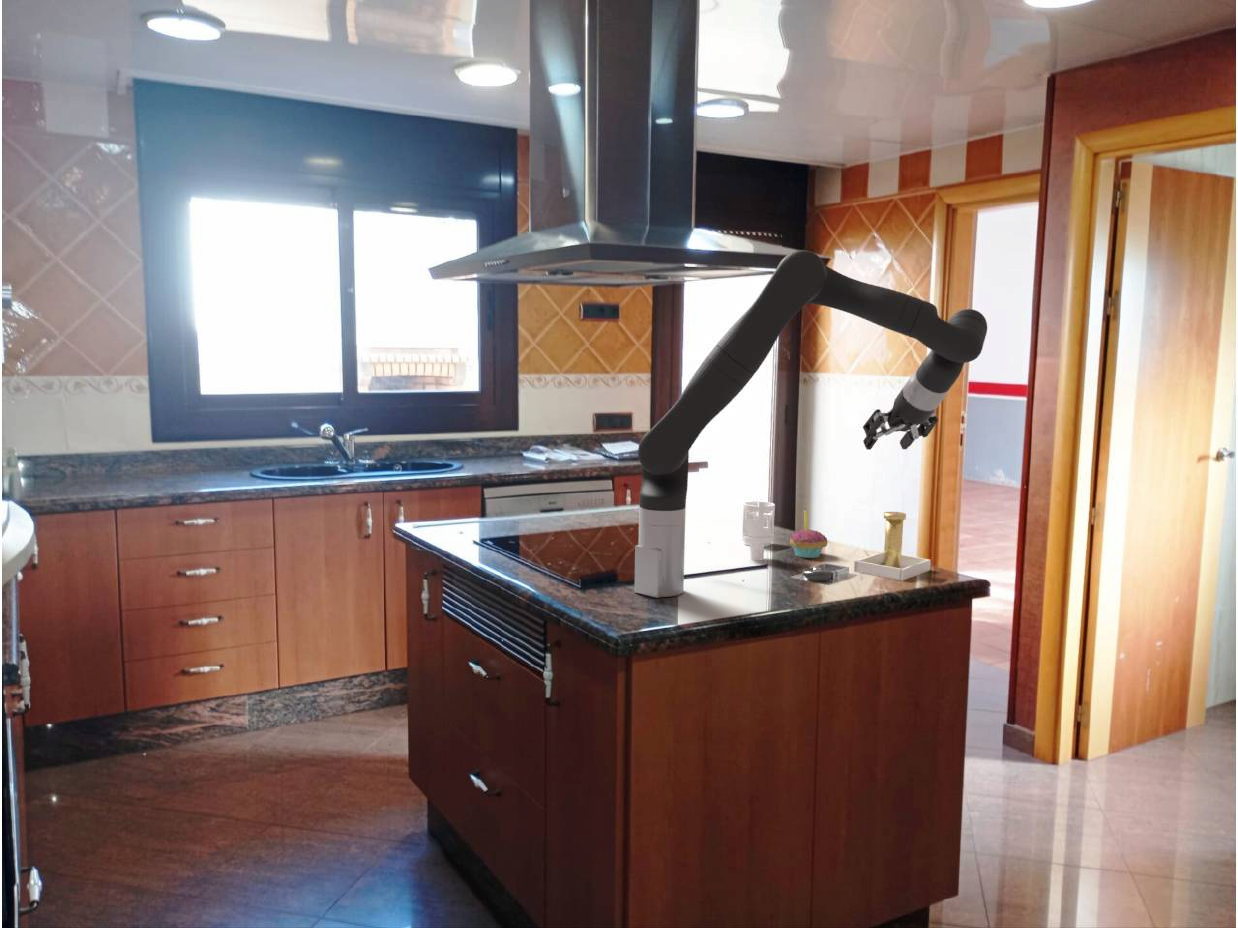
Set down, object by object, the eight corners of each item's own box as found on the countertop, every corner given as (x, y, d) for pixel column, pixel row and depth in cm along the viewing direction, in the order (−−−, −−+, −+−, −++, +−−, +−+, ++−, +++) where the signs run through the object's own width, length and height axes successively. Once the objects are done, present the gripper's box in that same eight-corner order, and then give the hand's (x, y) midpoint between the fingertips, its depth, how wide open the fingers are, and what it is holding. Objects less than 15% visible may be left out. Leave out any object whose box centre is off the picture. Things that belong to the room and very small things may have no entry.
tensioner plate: (827, 590, 200) (828, 574, 200) (789, 582, 206) (790, 566, 206) (856, 580, 209) (857, 564, 208) (819, 572, 215) (820, 557, 214)
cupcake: (782, 557, 230) (784, 506, 228) (813, 554, 233) (815, 504, 231) (801, 565, 222) (803, 513, 220) (833, 563, 225) (836, 511, 223)
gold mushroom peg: (896, 576, 210) (899, 516, 208) (876, 572, 213) (879, 513, 211) (906, 572, 213) (909, 513, 211) (887, 569, 216) (890, 510, 214)
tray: (902, 586, 205) (902, 569, 204) (853, 576, 212) (854, 560, 212) (929, 575, 214) (930, 559, 214) (882, 566, 222) (883, 551, 221)
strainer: (743, 567, 219) (745, 501, 217) (738, 560, 226) (740, 495, 224) (775, 567, 219) (777, 501, 217) (769, 560, 226) (771, 496, 224)
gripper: (945, 381, 196) (907, 432, 208) (883, 380, 191) (848, 432, 204) (960, 410, 192) (920, 460, 204) (896, 409, 187) (860, 461, 200)
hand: (884, 446), depth 204 cm, fingers open, 8 cm apart
